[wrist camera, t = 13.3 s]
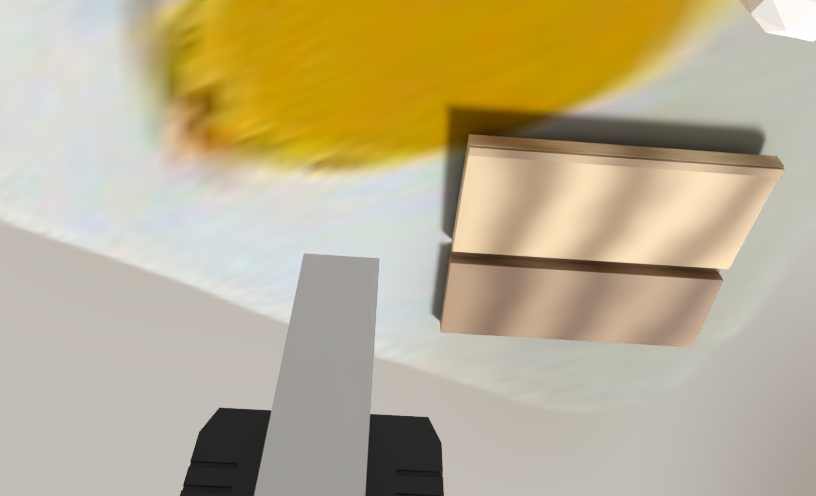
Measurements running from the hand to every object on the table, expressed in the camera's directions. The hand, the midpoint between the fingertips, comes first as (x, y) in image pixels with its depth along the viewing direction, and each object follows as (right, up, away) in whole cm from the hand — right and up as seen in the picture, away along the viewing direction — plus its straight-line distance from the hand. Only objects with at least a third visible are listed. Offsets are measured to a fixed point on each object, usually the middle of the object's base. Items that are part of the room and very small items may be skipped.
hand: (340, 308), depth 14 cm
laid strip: (+14, -2, +38) cm, 41 cm away
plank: (+15, +4, +33) cm, 36 cm away
